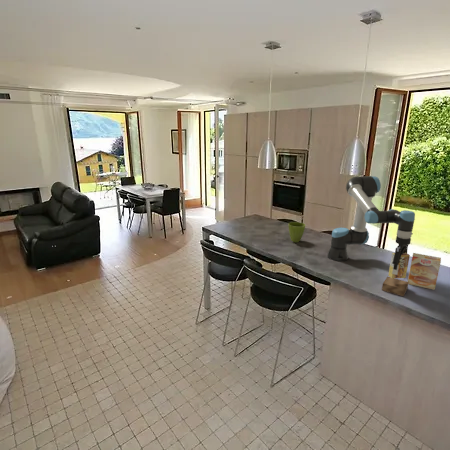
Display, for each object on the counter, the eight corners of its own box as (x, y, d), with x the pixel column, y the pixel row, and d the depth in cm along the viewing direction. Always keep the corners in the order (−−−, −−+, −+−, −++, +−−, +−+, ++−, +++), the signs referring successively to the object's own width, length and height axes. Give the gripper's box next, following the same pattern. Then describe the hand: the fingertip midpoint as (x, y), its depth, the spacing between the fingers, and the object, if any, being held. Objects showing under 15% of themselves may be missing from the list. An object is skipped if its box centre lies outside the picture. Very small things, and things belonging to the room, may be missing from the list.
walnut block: (381, 290, 188) (382, 283, 187) (386, 283, 197) (387, 276, 195) (403, 296, 181) (404, 289, 179) (407, 289, 190) (408, 282, 188)
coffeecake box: (407, 284, 196) (412, 255, 190) (407, 279, 201) (412, 252, 196) (434, 290, 188) (441, 261, 182) (434, 285, 193) (441, 257, 188)
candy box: (401, 275, 188) (405, 252, 184) (406, 278, 184) (410, 254, 180) (387, 275, 188) (391, 252, 184) (391, 278, 184) (395, 255, 180)
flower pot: (302, 238, 282) (304, 222, 278) (305, 244, 268) (306, 226, 263) (286, 238, 284) (287, 221, 279) (288, 243, 269) (289, 226, 265)
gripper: (403, 242, 169) (397, 279, 176) (417, 234, 183) (410, 268, 190) (389, 239, 175) (384, 275, 181) (403, 231, 189) (397, 265, 195)
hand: (397, 271), depth 185 cm, fingers closed on candy box, 9 cm apart
